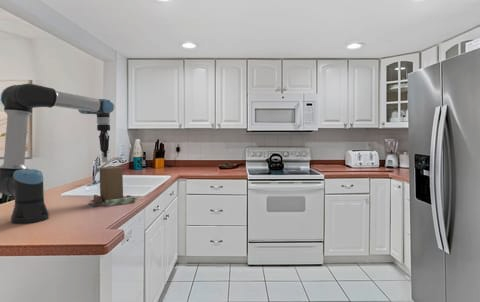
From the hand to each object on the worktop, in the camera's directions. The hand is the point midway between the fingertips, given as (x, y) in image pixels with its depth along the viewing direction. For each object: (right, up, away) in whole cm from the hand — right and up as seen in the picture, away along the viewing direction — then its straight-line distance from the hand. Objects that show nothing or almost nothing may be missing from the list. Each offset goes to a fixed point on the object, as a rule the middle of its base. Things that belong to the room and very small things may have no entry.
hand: (104, 162), depth 213 cm
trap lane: (+9, -23, -10) cm, 27 cm away
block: (+7, -23, -7) cm, 25 cm away
